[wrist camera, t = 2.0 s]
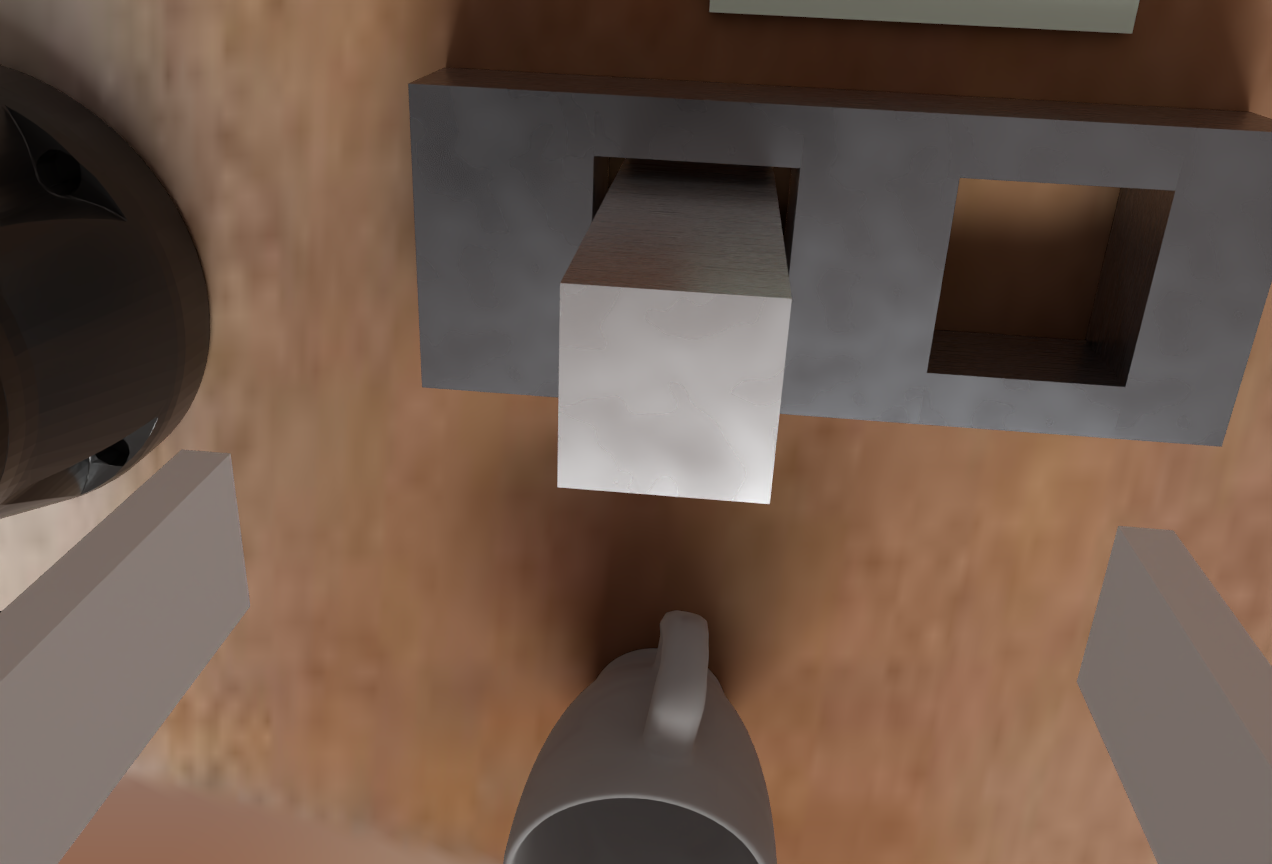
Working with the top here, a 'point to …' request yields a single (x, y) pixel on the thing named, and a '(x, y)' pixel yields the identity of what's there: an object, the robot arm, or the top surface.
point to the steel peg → (676, 335)
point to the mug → (648, 768)
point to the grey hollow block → (860, 241)
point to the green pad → (956, 12)
